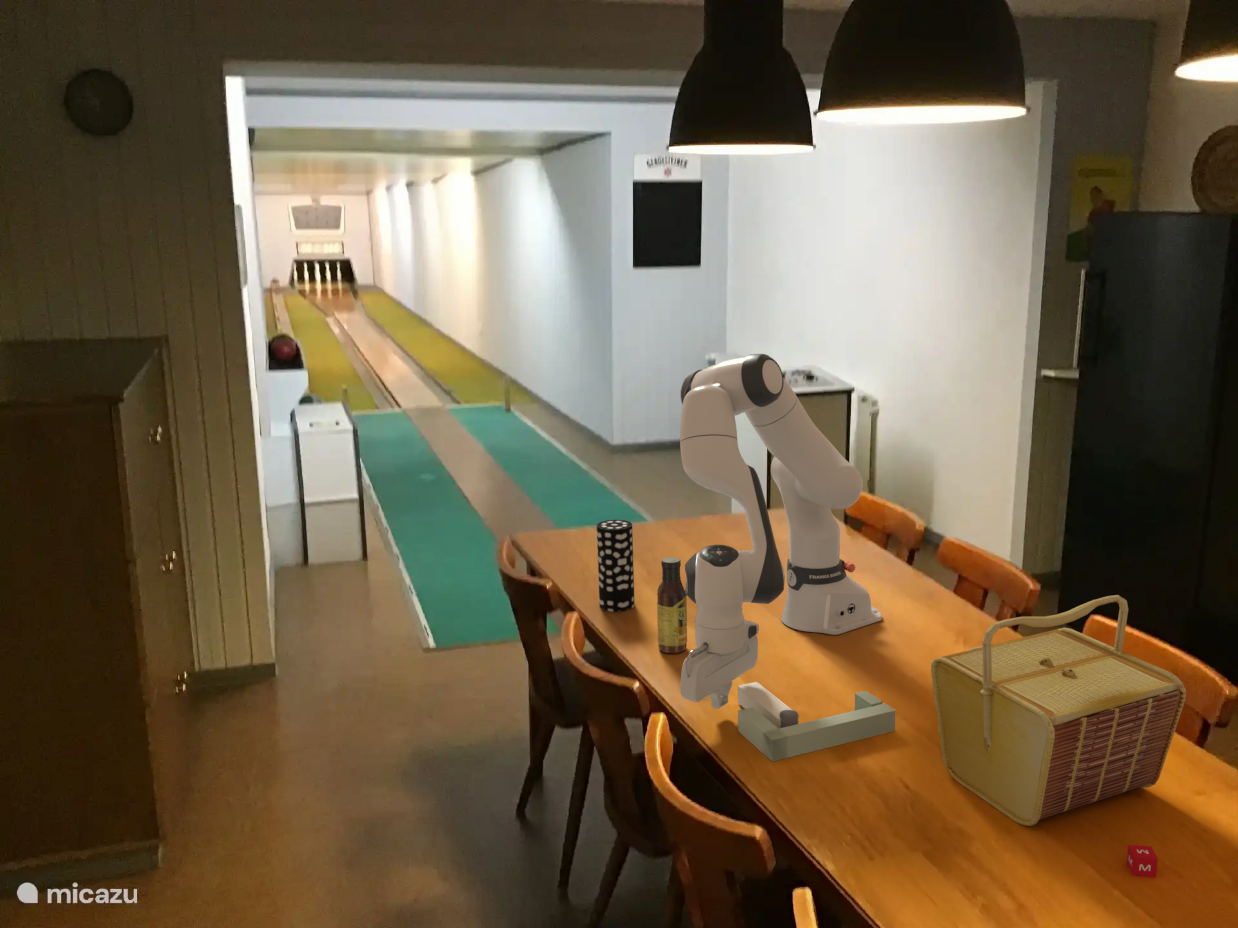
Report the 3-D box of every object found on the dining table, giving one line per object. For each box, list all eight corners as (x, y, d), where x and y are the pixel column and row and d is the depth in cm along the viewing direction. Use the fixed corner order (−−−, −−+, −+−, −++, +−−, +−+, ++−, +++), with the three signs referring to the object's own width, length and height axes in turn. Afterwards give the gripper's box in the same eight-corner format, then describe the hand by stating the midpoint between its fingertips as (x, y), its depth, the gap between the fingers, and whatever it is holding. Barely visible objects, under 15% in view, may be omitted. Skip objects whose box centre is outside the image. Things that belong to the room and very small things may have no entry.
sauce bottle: (685, 655, 223) (683, 565, 219) (655, 654, 225) (653, 564, 220) (689, 643, 230) (687, 555, 225) (660, 641, 231) (658, 554, 226)
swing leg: (803, 738, 188) (803, 715, 187) (783, 743, 186) (783, 719, 185) (756, 700, 203) (756, 678, 201) (738, 704, 201) (737, 682, 200)
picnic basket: (1037, 849, 154) (1050, 656, 147) (920, 767, 177) (927, 597, 170) (1181, 800, 165) (1200, 619, 158) (1054, 729, 188) (1065, 568, 181)
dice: (1132, 876, 147) (1134, 856, 146) (1126, 863, 150) (1128, 844, 149) (1155, 877, 147) (1157, 858, 146) (1149, 864, 149) (1150, 845, 149)
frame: (855, 703, 200) (856, 683, 199) (894, 730, 189) (895, 710, 188) (738, 730, 191) (738, 710, 190) (772, 761, 180) (772, 739, 179)
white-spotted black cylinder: (594, 609, 251) (590, 528, 246) (607, 597, 258) (604, 518, 254) (626, 613, 248) (624, 531, 243) (639, 601, 255) (637, 521, 251)
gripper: (700, 658, 183) (701, 731, 186) (764, 622, 198) (763, 690, 202) (671, 649, 187) (672, 721, 190) (735, 614, 202) (735, 681, 206)
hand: (719, 705), depth 196 cm, fingers closed
